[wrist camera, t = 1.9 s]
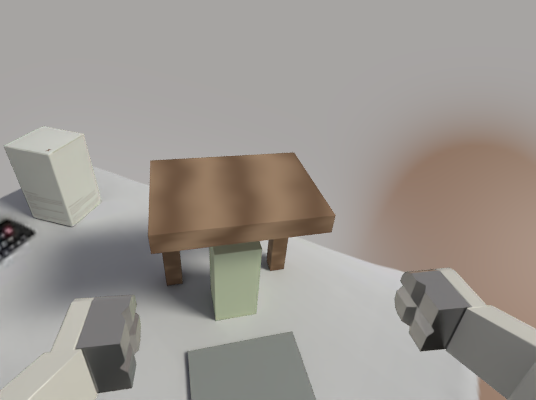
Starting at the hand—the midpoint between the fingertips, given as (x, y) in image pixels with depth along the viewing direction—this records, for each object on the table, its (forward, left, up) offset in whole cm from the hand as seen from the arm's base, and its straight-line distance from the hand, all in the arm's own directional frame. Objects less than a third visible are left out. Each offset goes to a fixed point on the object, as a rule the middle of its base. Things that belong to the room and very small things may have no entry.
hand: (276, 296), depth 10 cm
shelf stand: (+3, +21, -28) cm, 35 cm away
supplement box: (-20, +44, -28) cm, 56 cm away
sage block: (+3, +21, -28) cm, 35 cm away
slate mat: (+3, +10, -28) cm, 30 cm away
